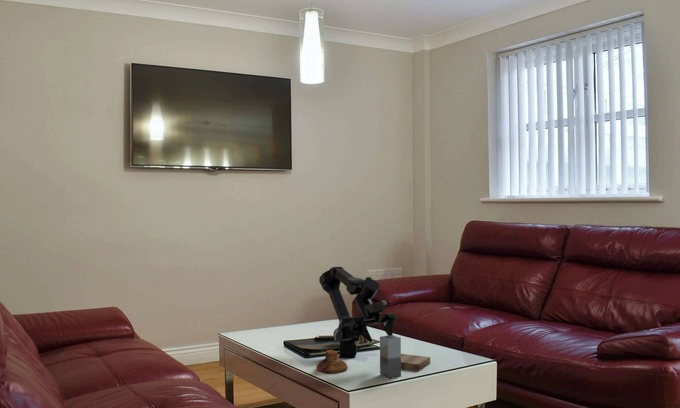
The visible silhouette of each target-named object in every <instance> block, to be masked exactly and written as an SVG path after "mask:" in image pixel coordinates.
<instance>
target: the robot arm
mask: <svg viewBox="0 0 680 408" xmlns="http://www.w3.org/2000/svg"><path fill="white" fill-rule="evenodd" d="M318 280H319V284H320V285H321V288H322V290H323V291H325V292H326V293H327V294H328V295H329V298H330V300H331V303H332V305H333V308H334V311H335V314H336V317H337V319H338V321H339V322H338V326H337V328H338V332H337V334H336V335H335V338H336V341H337V342H339V343H340V345H339V354H338V358H339V359H341V358H343V359H345V358H346V359H347V358H352V359H353V358H356V356H357V348H358V347H357V344H355V341H359V337H360V335H361V336H363V337H364V338H365V340H367V341H368V342H369V343H372V342H373V339H372V336H371V334H370V332H369V330H368V327H367V326H368V325H376V324H381V326H382V327H383V330H384V331H385V333H386V336H389V335H393V325H394V323H395V322H396V320H397V319H398V316H397V315H396V313H394V312H387V313H385V314H384V315H383V317H380V316H382V312H385V311H386V310H387V309H388V307H389V306H388V302H387V301H386V299H385V300H380V301H379V302H373V301H372V299H374V297H375V296H376V294H377V292H378V290H379V289H380V284H379V282H378V281H377V280H375V279H373V278H372V277H371V276H367V277H365V278H364V279H363V278H360V277H355V276H354V275H352V274H351V273H349V272H348V271H347V270H345V268H344V267H342V266H333V267H331V268H330V269H328V270H326V271H324V272H323V273H322V274H321V275H320V276H319V278H318ZM341 283H342V284H343V285H344V286H345V289H346V291H347V292H348V294H350V295H351V296H353V295H355V297H354V300H353V305H357V307H358V309H359V316H353V317H351V314H350V313H349V309H348V308H347V305H346V303H345V300H344V297H343V295H342V293H341V290H340V287H341Z"/></svg>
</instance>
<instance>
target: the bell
mask: <svg viewBox="0 0 680 408" xmlns="http://www.w3.org/2000/svg"><path fill="white" fill-rule="evenodd" d="M315 369H316V371H317V372H320V373H323V374H329V375H330V374H340V373H343V372H346V371H348V370H349V369H348V365H347V363H346V362H345V361H344V360H343V359H341V358H340V357H339V353H338V352H337V351H334V350H333V349H329V350H326V351H325V358H324V359H322V360H320V361H319V362H318V363H317V365H316V368H315Z"/></svg>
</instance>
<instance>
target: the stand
mask: <svg viewBox="0 0 680 408" xmlns="http://www.w3.org/2000/svg"><path fill="white" fill-rule="evenodd" d="M429 365H431V356H423V355H414V354H407V353H405V354H404V353H401V370H407V369H408V370H409V371H416V372H420V371H422V370H423V369H424V368H426V367H427V366H429Z"/></svg>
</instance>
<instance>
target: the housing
mask: <svg viewBox="0 0 680 408" xmlns="http://www.w3.org/2000/svg"><path fill="white" fill-rule="evenodd" d="M401 341H402V340H401V337H399V336H396V335H389V336H388V335H384V336H383V335H382V336H379V375H380V376H382V377H384V376H385V377H384V378H386V377H387V379H393V378H392V377H394V378H399V377H401V376H402V369H401V354H402V350H401V349H402V344H401V343H402V342H401ZM398 376H399V377H398Z"/></svg>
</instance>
